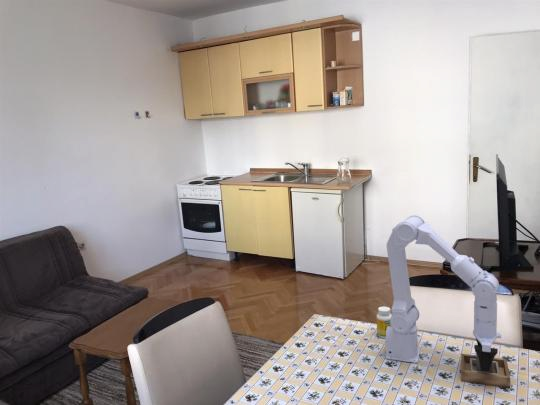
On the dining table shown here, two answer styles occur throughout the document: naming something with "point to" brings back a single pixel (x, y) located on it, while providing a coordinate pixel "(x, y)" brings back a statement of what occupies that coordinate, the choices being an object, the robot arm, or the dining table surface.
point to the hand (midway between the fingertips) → (484, 363)
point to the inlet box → (496, 378)
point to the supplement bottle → (383, 321)
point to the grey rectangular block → (479, 366)
